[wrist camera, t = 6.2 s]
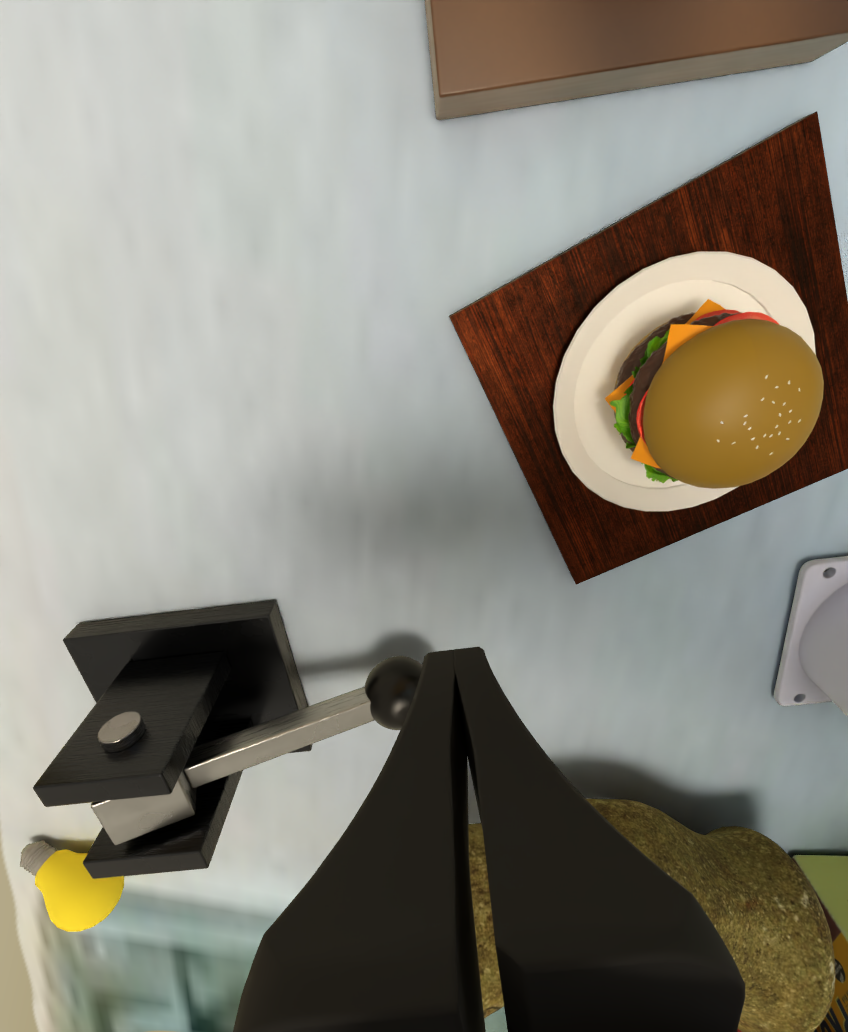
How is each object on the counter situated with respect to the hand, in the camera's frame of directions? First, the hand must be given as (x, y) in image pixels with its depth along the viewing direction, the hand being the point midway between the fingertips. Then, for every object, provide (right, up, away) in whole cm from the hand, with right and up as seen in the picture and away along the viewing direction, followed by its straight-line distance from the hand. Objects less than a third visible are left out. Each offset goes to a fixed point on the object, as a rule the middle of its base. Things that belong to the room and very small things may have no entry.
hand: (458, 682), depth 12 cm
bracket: (-11, -4, +12) cm, 17 cm away
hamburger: (+8, +9, +7) cm, 14 cm away
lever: (-7, -4, +10) cm, 13 cm away
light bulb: (-20, -15, +15) cm, 29 cm away
